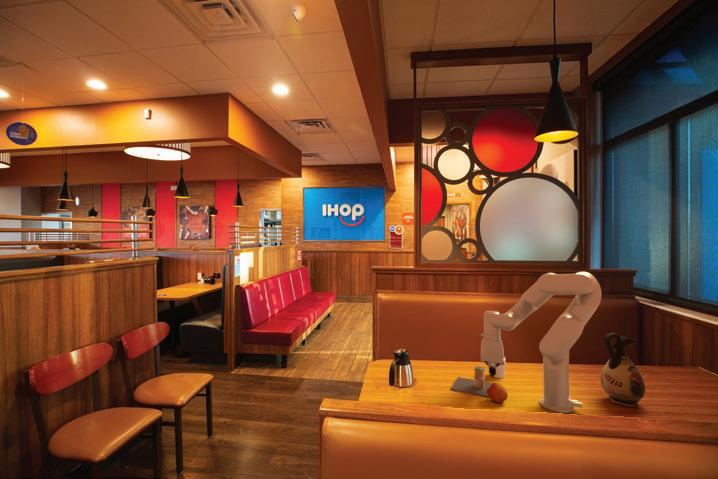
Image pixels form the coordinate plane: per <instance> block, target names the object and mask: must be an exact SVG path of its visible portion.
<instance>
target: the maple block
mask: <svg viewBox="0 0 718 479" xmlns="http://www.w3.org/2000/svg"><path fill="white" fill-rule="evenodd" d="M485 372H486V369H485V367H484V366H478V365H476V366H475V367H474V380H475V387H476V388H481V389H484V387H485V382H486V373H485Z"/></svg>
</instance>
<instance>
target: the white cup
mask: <svg viewBox="0 0 718 479" xmlns="http://www.w3.org/2000/svg"><path fill="white" fill-rule="evenodd" d="M506 358H507V357H506V356H504V363H505V364H504V365H499V366H498V367H496V375H494V377H493V378H496V379H504V378H505V377H506V374H505V373H506V362H507V361H506V360H507V359H506ZM491 365H492V367H493V365H494V363H493V362H491Z"/></svg>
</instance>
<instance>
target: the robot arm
mask: <svg viewBox="0 0 718 479" xmlns="http://www.w3.org/2000/svg"><path fill="white" fill-rule="evenodd" d="M557 295H558V296H566V295H567V296H574V298H573V299H572V301H571V302H570V304H569V305H568V306H567V308H566V309H565V310H564V311H563V312H562V314H561V315H559V316H558V318H557V319H555V321H554V323H553V324H552V326H551V327H550V328H549V330H548V331H547V332H546V334H545V335H544V336H543V337H542V339H541V340H540V342H539V351H540V354H541V355H542V356H543V358H542V361H543V362H542V365H543V366H542V369H543V370H542V371H543V372H542V373H543V374H542V375H543V380H542V381H543V397H541V398H540V399H539V404H540V405H541V407H542V408H545V409H546V410H549V411H552V412H554V413H560V414H570V413H573V412H574V410H575V408H576V407H577V408H581V409H583V408H584V407H583V405H584V404H583V402H579V400H576V399H572V398H571V395H570V350H571V348H572V347H573V346H574V345H575V344H576V342H577V341H578V340H579V338H580V336H582V333H583V330H584V328H585V326H586V325H587V323H588V322H589V320H590V319H591V317H592V316H593V315H594V313H595V312H596V310H597V309H598V307H600V306H599V305H600V304H601V301H602V288H601V285H600V283H599V282H598V280H597V279H596V277H595V276H594V275H593V274H591V273H590V272H587V271H577V272H576V273H560V274H559V273H554V272H547V273H544V274H542V275H541V276H539V278H538V279H537V280H536V281H535V283H533V284H532V285H531V286H530V287H529V288H527V290H526V291H525V292H524V293H523V294H522V295H521V297H520V299H519V300H518V301H517V302H516V303H515V304H514V305H513V306H512V307H511V308H510V309H508V310H507V311H506V312H505V313H500V312H499V311H495V310H485V311H484V312H483V333H480V337H482V339H481V344H480V362H481V363H484V364H486V366H487V367H488V375H490V377H493V378H495V377H494V375H496V367H498V366H499V365H504V364H505V363H504V357H505V354H504V353H505V351H504V343H503V340H501V339H502V337H501V334H502V333H501V330H504V331H513V330H514V329H515V328H516V327H518V326H519V324H521V323H522V322H523V321H524V320H525V319H527V318H528V317H529V316H530V315H531V314H532V313H534V312H535V311H537V310H539V309H540V308H541V307H542V306H543V305H544V304H545V303H546V302H547V301H549V300H550V299H551V298H552V297H553V296H557ZM491 362H493V363H494V365H493V367H492V365H491ZM505 365H506V364H505Z"/></svg>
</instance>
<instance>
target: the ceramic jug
mask: <svg viewBox="0 0 718 479" xmlns="http://www.w3.org/2000/svg"><path fill="white" fill-rule="evenodd" d="M612 339H615V341H614V343H613V344H612V343H611V340H612ZM604 342H605V343H604V344H605V346H606V349H607V351H608V354H609V359H608V361H607V362H606V364H605V365H604V366H603V368H602V371H601V372H600V373H601V374H600V384H601V387H602V390H604V392H605V393H606V394H607V396H608V397H609V398H610V401H611V402H612V403H615V404H618V405H621V406H625V407H634V408H637V407H638V403H639V402H640V401H641V400H642V399H643V398H644V397H645V393H646V385H645V381H644V378H643V376H642V374H641V372H640V371H639V369H638V368H637V367H636V365H635V363H634V362H633V361H632V360H631V359H630V358H629V356H628V355H627V353H626V350H625V349H626V348H628V347H629V346H632V345H635V341H634V340H633V339H632V338H630V337H628V336H626V337H624V336H623V335H621V336H620V335H619V334H617V333H615V332H609V333H607V334H605V337H604ZM613 348H614V349H615V351H614V349H613Z"/></svg>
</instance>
